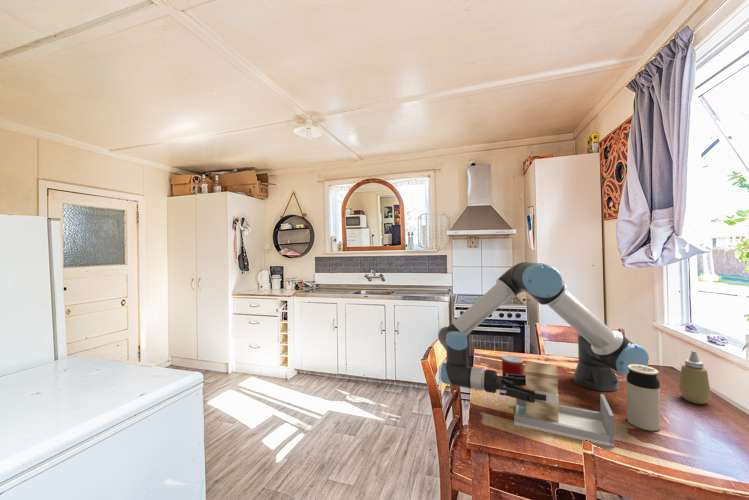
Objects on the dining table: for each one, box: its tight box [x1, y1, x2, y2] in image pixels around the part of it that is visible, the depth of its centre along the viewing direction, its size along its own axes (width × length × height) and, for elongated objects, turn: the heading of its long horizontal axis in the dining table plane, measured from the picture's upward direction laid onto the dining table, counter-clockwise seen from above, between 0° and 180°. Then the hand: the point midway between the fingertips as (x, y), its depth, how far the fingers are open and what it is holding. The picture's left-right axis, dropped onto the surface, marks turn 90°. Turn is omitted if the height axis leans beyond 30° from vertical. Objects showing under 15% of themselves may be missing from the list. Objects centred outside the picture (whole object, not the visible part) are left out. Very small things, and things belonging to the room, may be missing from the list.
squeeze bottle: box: [678, 350, 711, 405], centre depth 113 cm, size 8×8×18 cm
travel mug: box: [626, 364, 661, 432], centre depth 98 cm, size 8×8×18 cm
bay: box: [513, 393, 615, 448], centre depth 100 cm, size 26×14×9 cm, turn 63°
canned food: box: [501, 354, 524, 388], centre depth 128 cm, size 8×8×11 cm
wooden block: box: [524, 360, 560, 423], centre depth 102 cm, size 9×9×16 cm
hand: (557, 392), depth 100 cm, fingers closed on wooden block, 9 cm apart
